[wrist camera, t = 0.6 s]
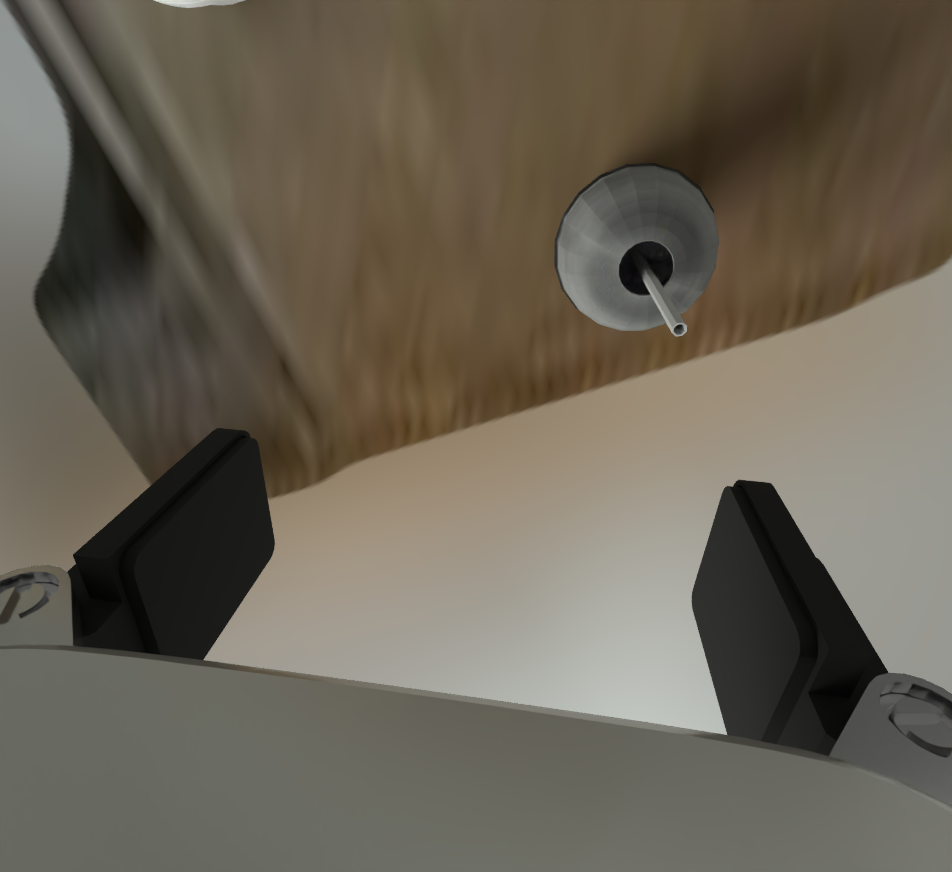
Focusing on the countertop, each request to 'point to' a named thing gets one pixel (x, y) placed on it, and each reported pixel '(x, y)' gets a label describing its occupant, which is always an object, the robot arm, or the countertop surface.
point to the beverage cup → (637, 248)
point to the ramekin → (197, 2)
